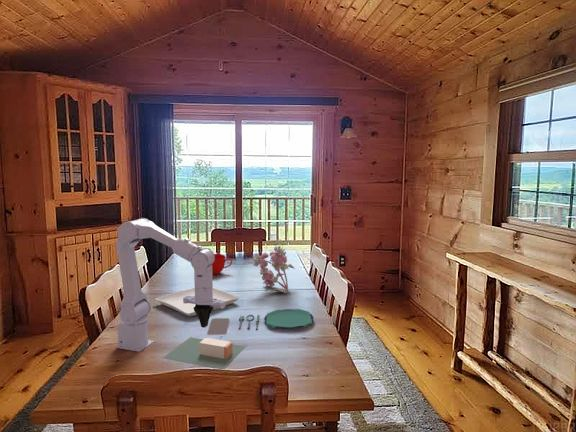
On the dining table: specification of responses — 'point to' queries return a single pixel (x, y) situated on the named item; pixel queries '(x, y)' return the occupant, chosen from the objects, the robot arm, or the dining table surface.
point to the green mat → (191, 354)
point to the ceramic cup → (219, 263)
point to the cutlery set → (284, 319)
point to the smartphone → (218, 326)
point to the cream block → (216, 348)
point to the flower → (277, 263)
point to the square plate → (188, 309)
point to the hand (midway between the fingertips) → (204, 326)
